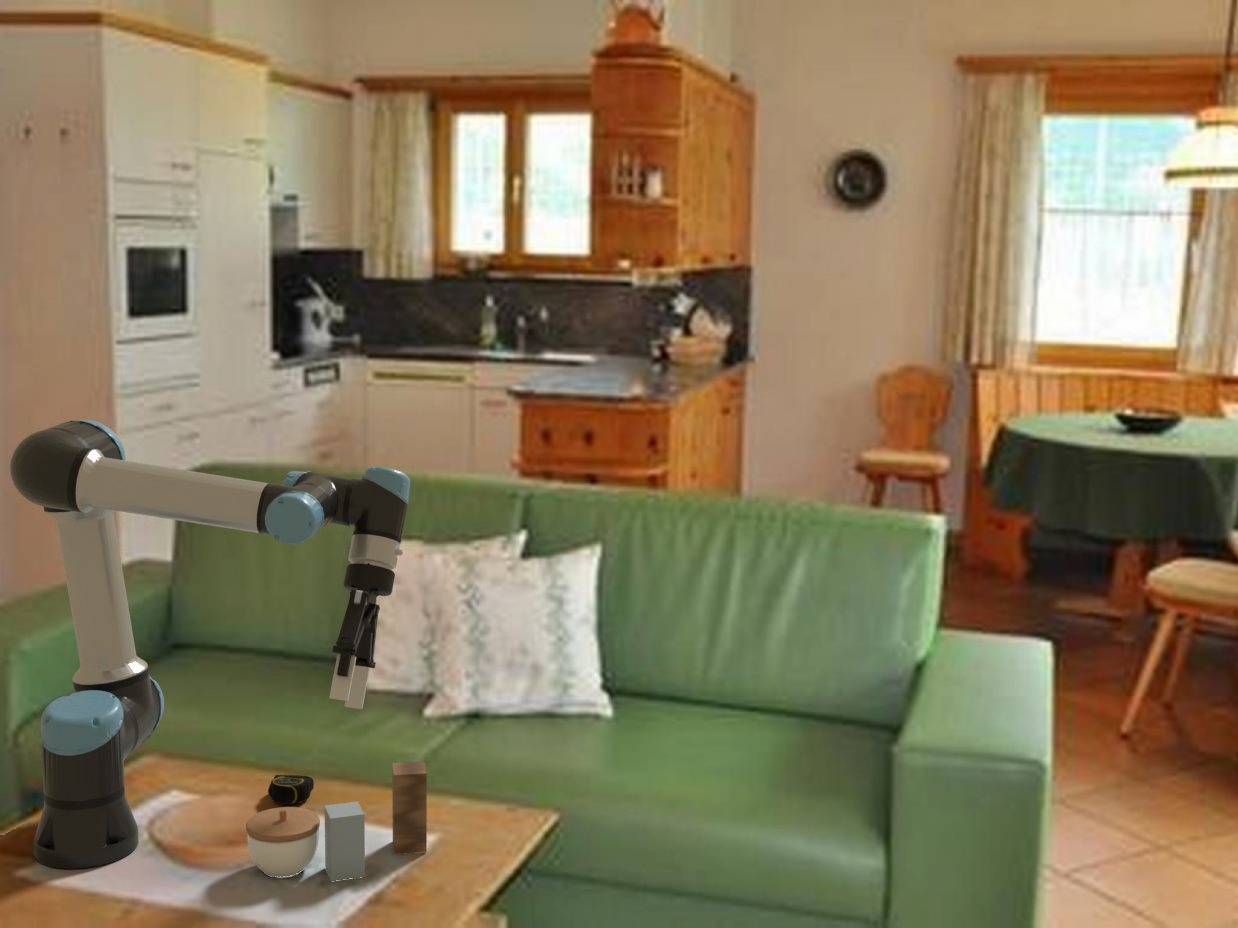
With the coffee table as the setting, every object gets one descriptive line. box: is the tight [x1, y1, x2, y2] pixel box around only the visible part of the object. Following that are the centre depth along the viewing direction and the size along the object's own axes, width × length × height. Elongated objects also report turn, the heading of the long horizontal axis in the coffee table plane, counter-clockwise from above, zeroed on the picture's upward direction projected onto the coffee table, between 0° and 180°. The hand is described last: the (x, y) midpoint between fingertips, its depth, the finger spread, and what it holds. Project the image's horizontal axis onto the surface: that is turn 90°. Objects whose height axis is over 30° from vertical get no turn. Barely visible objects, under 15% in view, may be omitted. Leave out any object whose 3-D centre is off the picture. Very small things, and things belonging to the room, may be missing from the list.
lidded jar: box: [245, 806, 321, 877], centre depth 212 cm, size 11×11×9 cm
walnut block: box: [391, 761, 428, 855], centre depth 220 cm, size 5×5×13 cm
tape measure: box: [267, 774, 315, 805], centre depth 238 cm, size 7×7×4 cm
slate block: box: [324, 800, 366, 882], centre depth 211 cm, size 5×5×10 cm
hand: (346, 704), depth 213 cm, fingers open, 13 cm apart
